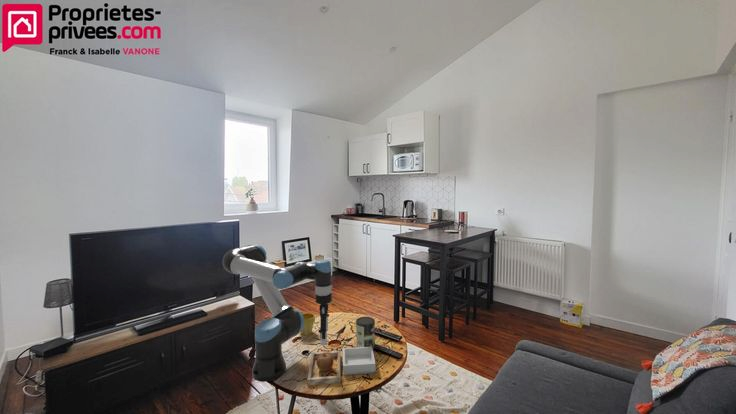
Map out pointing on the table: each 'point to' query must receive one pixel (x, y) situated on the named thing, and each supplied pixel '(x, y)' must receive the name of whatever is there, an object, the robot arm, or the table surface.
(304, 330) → the plant pot
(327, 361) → the apple
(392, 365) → the table surface
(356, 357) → the bin
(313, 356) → the corral
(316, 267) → the robot arm
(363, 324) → the coffee can
